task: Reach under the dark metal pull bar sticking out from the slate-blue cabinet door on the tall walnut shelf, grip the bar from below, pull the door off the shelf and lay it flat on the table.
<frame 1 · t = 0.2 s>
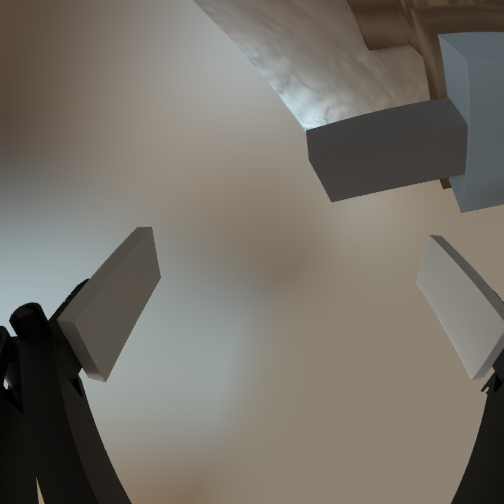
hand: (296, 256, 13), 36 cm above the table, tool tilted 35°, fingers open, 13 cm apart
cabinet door: (497, 113, 11), point 28 cm above the table, touching shelf stand
shelf stand: (379, 2, 23), on the table
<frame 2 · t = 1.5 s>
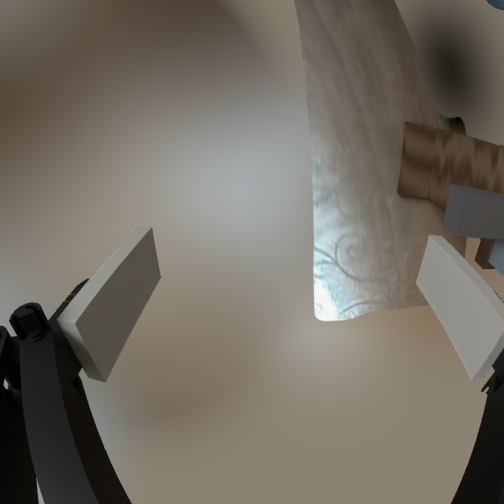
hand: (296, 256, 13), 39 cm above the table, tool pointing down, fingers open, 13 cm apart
shelf stand: (421, 160, 45), on the table
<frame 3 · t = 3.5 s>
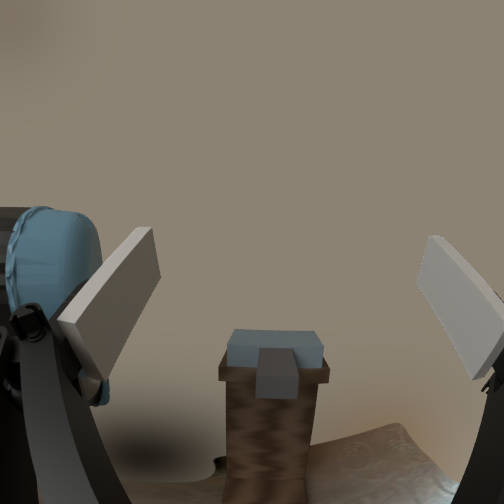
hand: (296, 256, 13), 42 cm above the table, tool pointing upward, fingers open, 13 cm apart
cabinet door: (274, 357, 38), point 28 cm above the table, touching shelf stand
shelf stand: (264, 491, 37), on the table
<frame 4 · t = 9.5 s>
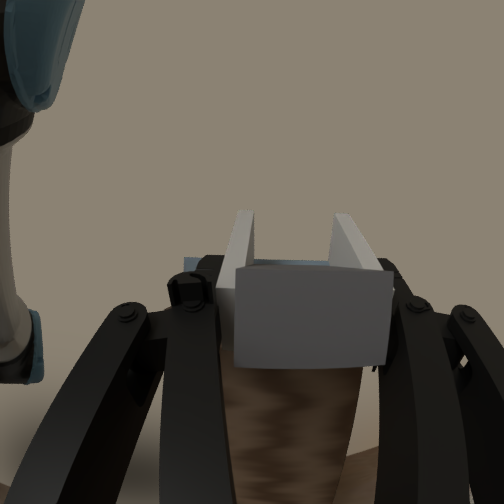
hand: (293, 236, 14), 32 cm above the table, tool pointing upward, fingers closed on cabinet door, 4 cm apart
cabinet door: (284, 303, 20), point 28 cm above the table, touching gripper, shelf stand
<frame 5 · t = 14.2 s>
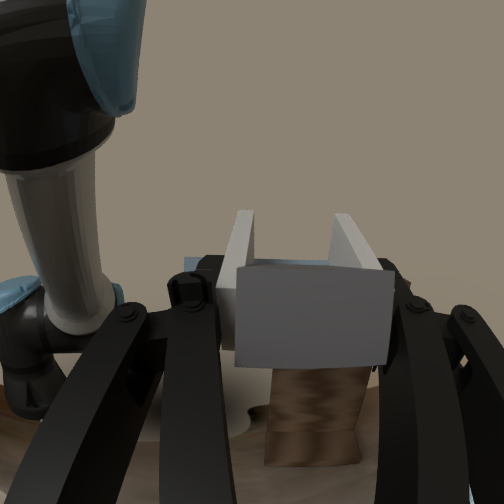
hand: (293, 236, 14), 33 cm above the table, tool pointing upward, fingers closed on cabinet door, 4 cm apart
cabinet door: (285, 303, 20), point 28 cm above the table, tilted 10°, touching gripper
shelf stand: (310, 446, 36), on the table
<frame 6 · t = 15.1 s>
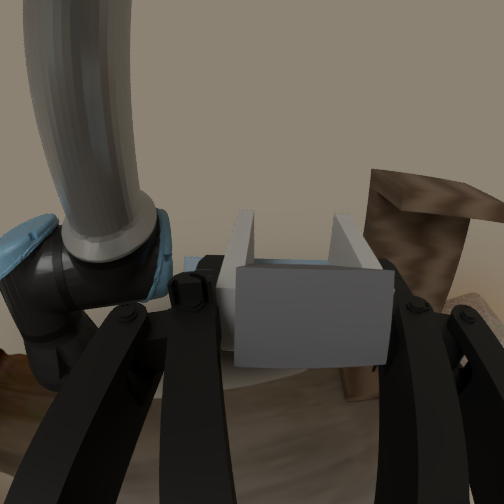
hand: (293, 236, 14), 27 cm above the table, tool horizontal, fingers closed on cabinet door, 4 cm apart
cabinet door: (284, 302, 20), point 21 cm above the table, tilted 27°, touching gripper
shelf stand: (384, 374, 36), on the table
when the fingers open (9 cm above the table, at t = 18.9 s): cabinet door drops 4 cm, on the table.
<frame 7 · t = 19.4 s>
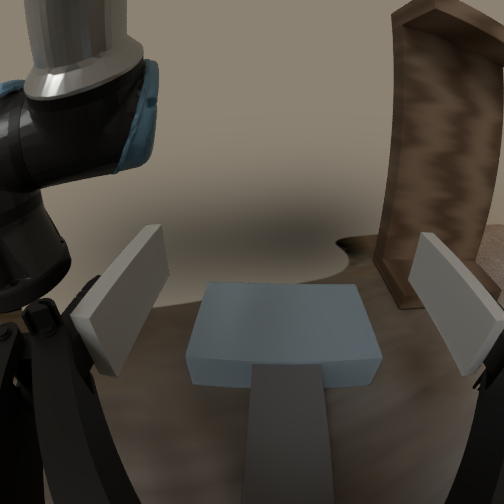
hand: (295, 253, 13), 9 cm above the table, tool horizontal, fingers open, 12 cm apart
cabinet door: (282, 346, 21), on the table
shelf stand: (437, 280, 27), on the table
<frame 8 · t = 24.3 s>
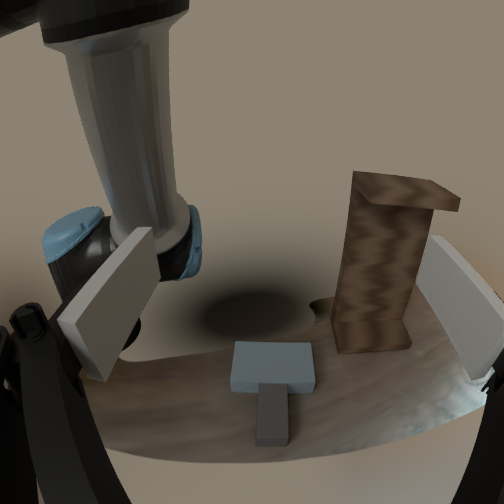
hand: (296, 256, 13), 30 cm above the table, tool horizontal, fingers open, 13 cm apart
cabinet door: (272, 373, 42), on the table
shelf stand: (369, 334, 48), on the table
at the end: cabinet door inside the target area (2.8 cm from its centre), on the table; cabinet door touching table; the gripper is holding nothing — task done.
